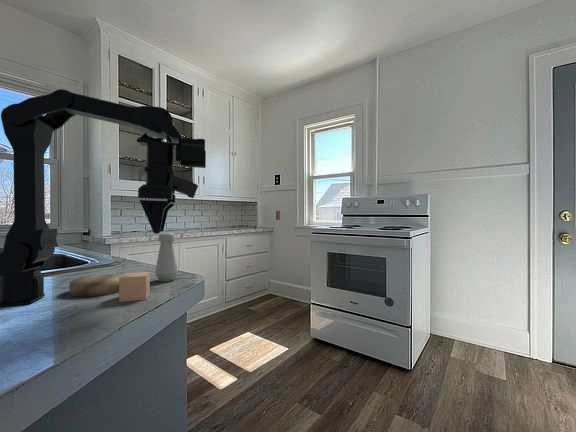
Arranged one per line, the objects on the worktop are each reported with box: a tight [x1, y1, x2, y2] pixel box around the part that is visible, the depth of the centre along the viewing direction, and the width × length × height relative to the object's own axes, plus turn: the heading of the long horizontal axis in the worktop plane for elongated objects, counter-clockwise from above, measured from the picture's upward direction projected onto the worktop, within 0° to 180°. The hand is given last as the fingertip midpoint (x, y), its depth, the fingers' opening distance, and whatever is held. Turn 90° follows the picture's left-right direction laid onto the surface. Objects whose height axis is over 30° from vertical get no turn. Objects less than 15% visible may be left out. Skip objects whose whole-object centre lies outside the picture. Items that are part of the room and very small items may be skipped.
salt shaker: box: [154, 232, 179, 282], centre depth 78 cm, size 6×6×13 cm
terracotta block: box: [118, 271, 151, 303], centre depth 61 cm, size 5×5×5 cm
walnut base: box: [69, 273, 124, 298], centre depth 67 cm, size 12×12×2 cm
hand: (158, 232), depth 65 cm, fingers open, 9 cm apart
